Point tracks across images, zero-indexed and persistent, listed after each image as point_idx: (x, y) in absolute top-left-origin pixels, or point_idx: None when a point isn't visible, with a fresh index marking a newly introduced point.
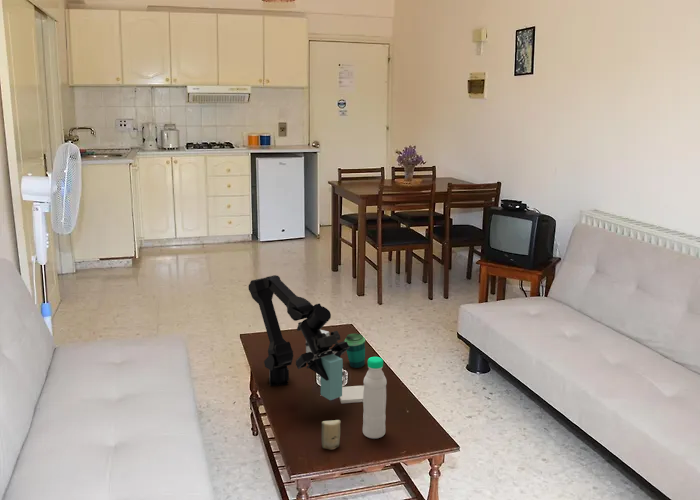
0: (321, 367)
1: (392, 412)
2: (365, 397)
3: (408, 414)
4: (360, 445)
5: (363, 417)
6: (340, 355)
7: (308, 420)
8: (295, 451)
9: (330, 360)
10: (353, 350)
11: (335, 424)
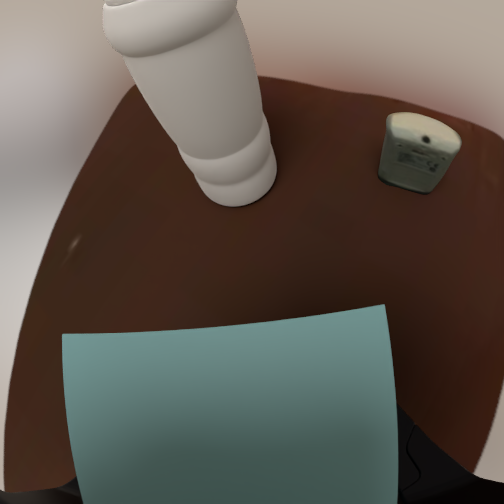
0: (419, 455)
1: (105, 260)
2: (251, 52)
3: (85, 225)
4: (317, 141)
5: (266, 141)
6: (39, 491)
7: (401, 381)
8: (500, 212)
9: (306, 430)
10: None
11: (413, 113)
